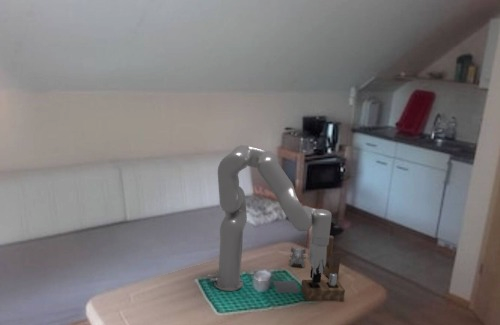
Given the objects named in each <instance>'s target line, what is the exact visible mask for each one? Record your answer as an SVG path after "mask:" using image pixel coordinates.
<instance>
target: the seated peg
mask: <svg viewBox="0 0 500 325" xmlns="http://www.w3.org/2000/svg"><path fill="white" fill-rule="evenodd" d="M328 280H329V286H328V287H329V288H336V281H337V274H336V273H330V278H328Z"/></svg>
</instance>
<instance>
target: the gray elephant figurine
mask: <svg viewBox="0 0 500 325" xmlns="http://www.w3.org/2000/svg"><path fill="white" fill-rule="evenodd" d="M306 250H307V249H306V248H300V247H293V246H292V247H291V248H290V252H291V253H290V255H289V257H290V258H291V259H290V260H289V263H288V266H289V267H292V266H293V265H294V264H296V265H301V268H302V269H304V268H306V265H305V263H306V262H305V260H304V259H306V258H307V257H306V255H305V254H306V252H307V251H306Z"/></svg>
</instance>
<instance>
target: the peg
mask: <svg viewBox="0 0 500 325" xmlns="http://www.w3.org/2000/svg"><path fill="white" fill-rule="evenodd" d="M317 270H319V269H317ZM314 272H315V269H314V268H313V273H312V278H311V280H312V282H311V287H312V288H318V285H319V283H313V274H314Z"/></svg>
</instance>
